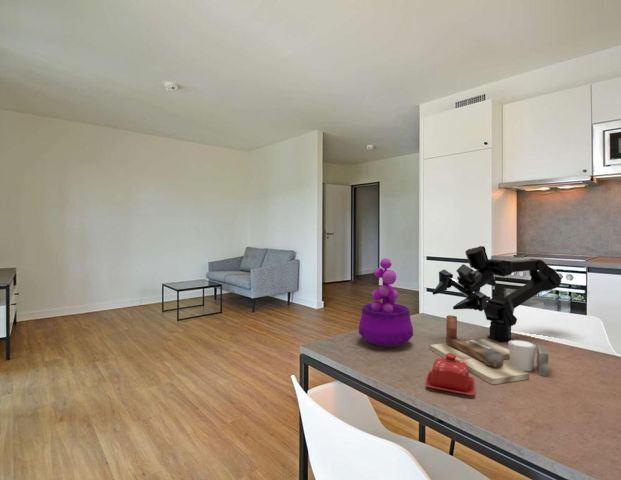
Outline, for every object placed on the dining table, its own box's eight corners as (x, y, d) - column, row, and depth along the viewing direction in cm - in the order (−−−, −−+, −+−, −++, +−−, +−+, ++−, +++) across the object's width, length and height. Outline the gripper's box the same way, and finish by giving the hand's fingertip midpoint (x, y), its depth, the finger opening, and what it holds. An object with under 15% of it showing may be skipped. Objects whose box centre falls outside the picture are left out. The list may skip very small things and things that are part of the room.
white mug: (541, 372, 97) (541, 347, 97) (516, 371, 97) (516, 347, 97) (526, 362, 104) (526, 339, 104) (503, 362, 104) (503, 339, 104)
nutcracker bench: (488, 342, 122) (489, 325, 122) (563, 374, 96) (564, 352, 96) (429, 349, 115) (429, 331, 115) (492, 384, 89) (492, 361, 89)
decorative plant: (424, 346, 118) (425, 258, 117) (383, 356, 109) (383, 261, 108) (386, 331, 135) (387, 255, 134) (348, 339, 126) (348, 257, 125)
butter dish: (474, 381, 92) (475, 349, 92) (475, 401, 82) (475, 365, 81) (429, 373, 97) (429, 343, 97) (424, 391, 86) (424, 358, 86)
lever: (507, 365, 97) (508, 333, 96) (493, 367, 95) (493, 335, 95) (455, 341, 118) (455, 314, 117) (442, 342, 116) (442, 315, 116)
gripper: (455, 250, 124) (422, 269, 120) (501, 275, 110) (465, 298, 105) (456, 273, 130) (423, 292, 126) (499, 300, 116) (464, 323, 111)
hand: (442, 300), depth 117 cm, fingers open, 9 cm apart
